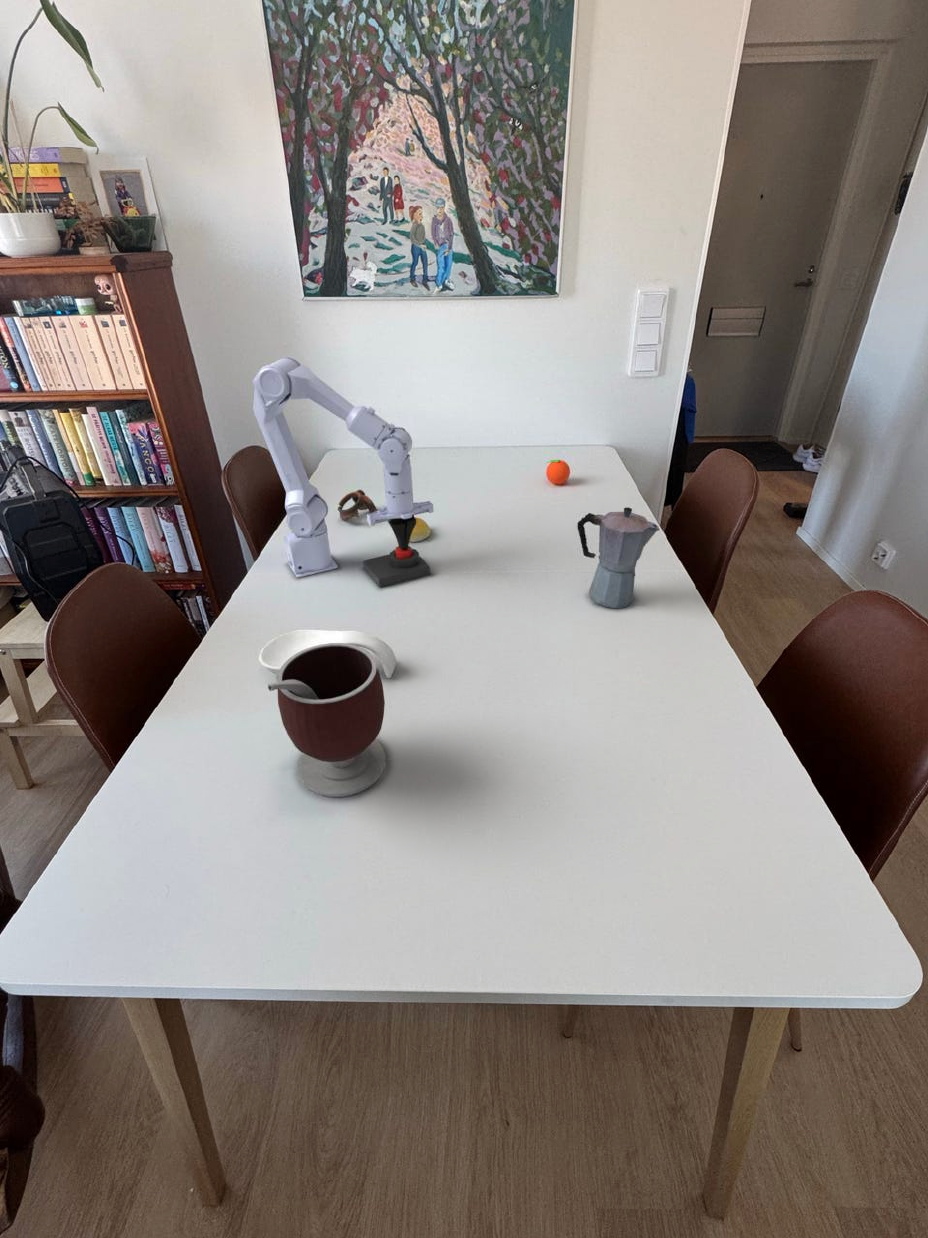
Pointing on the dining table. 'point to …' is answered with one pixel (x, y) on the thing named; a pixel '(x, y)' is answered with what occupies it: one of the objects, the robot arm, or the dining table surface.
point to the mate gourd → (333, 716)
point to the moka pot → (616, 554)
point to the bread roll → (420, 531)
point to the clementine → (557, 471)
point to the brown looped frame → (356, 505)
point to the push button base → (396, 568)
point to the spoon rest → (299, 640)
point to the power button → (403, 553)
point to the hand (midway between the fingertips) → (403, 548)
